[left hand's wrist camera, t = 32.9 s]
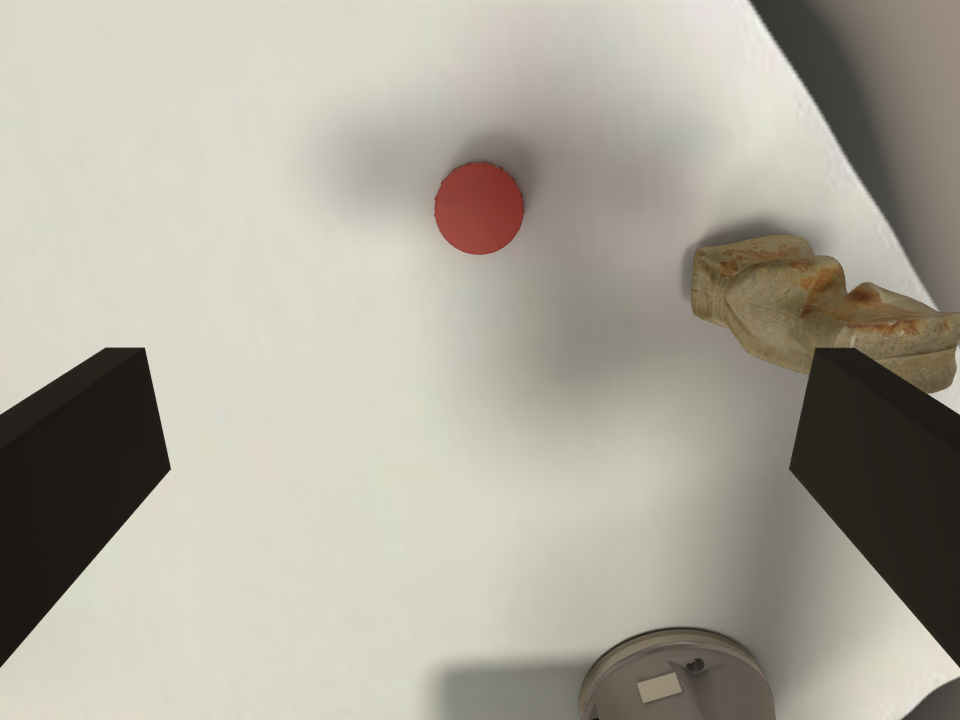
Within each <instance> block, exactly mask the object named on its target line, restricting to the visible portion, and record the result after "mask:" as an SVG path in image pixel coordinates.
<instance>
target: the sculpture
mask: <svg viewBox="0 0 960 720" xmlns="http://www.w3.org/2000/svg"><path fill="white" fill-rule="evenodd" d="M691 298H692V309H693V313H694V314H695V315H696V316H698V317H700V318H701V319H703V320H706V321H709V322H711V323H714V324H717V325H720V326H723V327H727V328H730V330H731V331H732V333H733V334H734V335H735V337H736V338H737V340H738V341H739V343H740V344H741V345H742V347H743V348H744V349H745V350H746V351H747V352H748V353H749V354H751V355H752V356H754V357H757V358H759V359H762V360H765V361H767V362H770V363H772V364H775V365H778V366H781V367H784V368H786V369H789V370H792V371H795V372H799V373H803V374H810V370H811V365H812V360H813V356H814V351H815V348H856V349H857V350H859V351H860V352H862V353H864V354H865V355H867V356H868V357H870V358H871V359H873V360H875V361H876V362H878V363H879V364H881V365H882V366H884V367H886V368H887V369H889V370H890V371H892V372H893V373H895V374H897V375H898V376H900V377H901V378H903V379H904V380H906V381H908V382H909V383H911V384H912V385H914V386H915V387H917V388H918V389H920V390H922V391H923V392H925V393H926V394H931V393H935V392H938V391H941V390H943V389H946V388H948V387H949V386H950V385H951V384H952V382H953V379H954V376H955V373H956V369H957V367H956V361H955V351H956V347H957V345H958V343H959V341H960V312H949V313H944V312H937V311H935V310H934V309H932V308H931V307H929V306H927V305H925V304H923V303H921V302H919V301H917V300H914V299H912V298H910V297H907V296H904V295H901V294H898V293H894V292H891V291H889V290H886V289H884V288H881V287H879V286H877V285H875V284H873V283H870V282H865V283H862V284H860V285H859V286H857V287H856V288H855V289H853V290H852V291H851V292H850V293H848V294H847V292H846V284H845V275H844V271H843V268H842V266H841V265H840V263H839V262H838V261H837V260H836V259H834V258H833V257H829V256H821V255H816V256H814V255H813V250H812V248H811V246H810V244H809V243H808V242H807V241H806V240H805V239H803V238H801V237H798V236H793V235H782V234H780V235H769V236H763V237H758V238H753V239H748V240H744V241H740V242H736V243H732V244H728V245H721V246H714V247H710V246H708V247H703V248H700V249H698V250H697V251H696V252H695V255H694V261H693V279H692V292H691Z"/></svg>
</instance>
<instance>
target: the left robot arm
mask: <svg viewBox="0 0 960 720" xmlns="http://www.w3.org/2000/svg"><path fill="white" fill-rule="evenodd" d="M170 470H171V467H170V462H169V458H168V453H167V448H166V444H165V439H164V435H163V430H162V425H161V421H160V416H159V411H158V407H157V402H156V397H155V393H154V388H153V384H152V379H151V374H150V370H149V365H148V360H147V356H146V351H145V348H104V349H103V350H101V351H100V352H98V353H96V354H95V355H93V356H92V357H90V358H89V359H87V360H85V361H84V362H82V363H81V364H79V365H78V366H76V367H74V368H73V369H71V370H70V371H68V372H67V373H65V374H63V375H62V376H60V377H59V378H57V379H56V380H54V381H52V382H51V383H49V384H48V385H46V386H45V387H43V388H42V389H40V390H38V391H37V392H35V393H34V394H32V395H31V396H29V397H27V398H26V399H24V400H23V401H21V402H20V403H18V404H16V405H15V406H13V407H12V408H10V409H9V410H7V411H5V412H4V413H2V414H1V415H0V667H1V666H2V665H3V664H4V663H5V662H6V660H7V659H8V658H9V657H10V656H11V655H12V654H13V652H14V651H15V650H16V649H17V648H18V647H19V645H20V644H21V643H22V642H23V641H24V640H25V638H26V637H27V636H28V635H29V634H30V633H31V631H32V630H33V629H34V628H35V627H36V626H37V624H38V623H39V622H40V621H41V620H42V619H43V617H44V616H45V615H46V614H47V613H48V612H49V610H50V609H51V608H52V607H53V606H54V605H55V603H56V602H57V601H58V600H59V599H60V598H61V596H62V595H63V594H64V593H65V592H66V591H67V589H68V588H69V587H70V586H71V585H72V584H73V582H74V581H75V580H76V579H77V578H78V577H79V575H80V574H81V573H82V572H83V571H84V570H85V569H86V567H87V566H88V565H89V564H90V563H91V562H92V560H93V559H94V558H95V557H96V556H97V555H98V553H99V552H100V551H101V550H102V549H103V548H104V546H105V545H106V544H107V543H108V542H109V541H110V539H111V538H112V537H113V536H114V535H115V534H116V532H117V531H118V530H119V529H120V528H121V527H122V525H123V524H124V523H125V522H126V521H127V520H128V518H129V517H130V516H131V515H132V514H133V513H134V511H135V510H136V509H137V508H138V507H139V506H140V504H141V503H142V502H143V501H144V500H145V499H146V497H147V496H148V495H149V494H150V493H151V492H152V490H153V489H154V488H155V487H156V486H157V485H158V484H159V482H160V481H161V480H162V479H163V478H164V477H165V475H166V474H167V473H168V472H169V471H170ZM789 470H790V471H791V472H792V473H793V474H794V475H795V477H796V478H797V479H798V480H799V481H800V482H801V484H802V485H803V486H804V487H805V488H806V489H807V490H808V492H809V493H810V494H811V495H812V496H813V497H814V499H815V500H816V501H817V502H818V503H819V504H820V506H821V507H822V508H823V509H824V510H825V511H826V513H827V514H828V515H829V516H830V517H831V518H832V520H833V521H834V522H835V523H836V524H837V525H838V527H839V528H840V529H841V530H842V531H843V532H844V534H845V535H846V536H847V537H848V538H849V539H850V541H851V542H852V543H853V544H854V545H855V546H856V548H857V549H858V550H859V551H860V552H861V553H862V555H863V556H864V557H865V558H866V559H867V560H868V562H869V563H870V564H871V565H872V566H873V567H874V569H875V570H876V571H877V572H878V573H879V574H880V575H881V577H882V578H883V579H884V580H885V581H886V582H887V584H888V585H889V586H890V587H891V588H892V589H893V591H894V592H895V593H896V594H897V595H898V596H899V598H900V599H901V600H902V601H903V602H904V603H905V605H906V606H907V607H908V608H909V609H910V610H911V612H912V613H913V614H914V615H915V616H916V617H917V619H918V620H919V621H920V622H921V623H922V624H923V626H924V627H925V628H926V629H927V630H928V631H929V633H930V634H931V635H932V636H933V637H934V638H935V640H936V641H937V642H938V643H939V644H940V645H941V647H942V648H943V649H944V650H945V651H946V652H947V654H948V655H949V656H950V657H951V658H952V659H953V660H954V662H955V663H956V664H957V665H958V666H959V667H960V415H959V414H958V413H956V412H955V411H953V410H951V409H950V408H948V407H947V406H945V405H944V404H942V403H940V402H939V401H937V400H936V399H934V398H933V397H931V396H929V395H928V394H926V393H925V392H923V391H922V390H920V389H918V388H917V387H915V386H914V385H912V384H911V383H909V382H908V381H906V380H904V379H903V378H901V377H900V376H898V375H897V374H895V373H893V372H892V371H890V370H889V369H887V368H886V367H884V366H882V365H881V364H879V363H878V362H876V361H875V360H873V359H871V358H870V357H868V356H867V355H865V354H864V353H862V352H860V351H859V350H857V349H856V348H815V351H814V356H813V360H812V365H811V370H810V374H809V379H808V384H807V388H806V393H805V397H804V402H803V407H802V411H801V416H800V421H799V425H798V430H797V435H796V439H795V444H794V448H793V453H792V458H791V462H790V467H789ZM579 712H580V718H581V720H776V717H775V709H774V702H773V696H772V692H771V689H770V687H769V685H768V683H767V681H766V679H765V677H764V675H763V673H762V671H761V669H760V667H759V665H758V664H757V662H756V661H755V659H754V658H753V657H752V656H751V654H750V653H748V652H747V651H746V650H745V649H744V648H743V647H741V646H740V645H738V644H737V643H735V642H733V641H732V640H730V639H727V638H725V637H723V636H720V635H717V634H713V633H709V632H705V631H699V630H688V629H677V630H666V631H659V632H654V633H650V634H646V635H643V636H640V637H637V638H635V639H632V640H630V641H628V642H626V643H623V644H622V645H620V646H618V647H616V648H615V649H613V650H612V651H610V652H609V653H608V654H606V655H605V656H604V657H603V658H602V659H601V660H600V661H599V662H598V663H597V664H596V665H595V666H594V667H593V668H592V669H591V671H590V672H589V674H588V675H587V677H586V679H585V681H584V683H583V685H582V688H581V691H580V696H579Z"/></svg>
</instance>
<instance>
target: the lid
mask: <svg viewBox="0 0 960 720" xmlns="http://www.w3.org/2000/svg"><path fill="white" fill-rule="evenodd" d="M514 181H515V179H514V178H512V177H511V176H510V175H509V174H508V173H507V172H505V171H504V170H503V169H502V167H500V168H499V167H497V166H495V165H493V164H489V163H487V161H485V163H483V162H475V163H470V162H468V164H466V165H463V166H461V167H459V168H457V169H456V170H455V168H454V169H453V172H452V173H450V175H449V176H448V177H447V178H446V179H445V180H444V181H442V182H441V184H442V185H441V187H440V189H439V191H438V194H437V195H436V197H435V200H436V201H435V214H434V216H435V218H436V222H437V225H438V228H439V230H440V232H441V233H442V235H443V236H444V238H445V239H446V240H447V241H448V242H449V243H450V244H451V245H452V246H454V247H455V248H457V249H459V250H461V251H463V252H465V253H469V254H475V255H483V254H489V253H493V252H495V251H498V250H500V249H501V248H503V247H504V246H506V245H507V244H508V243H509V242H511V240H512V239H513V238H514V237H515V235H516V234H517V232H518V230H519V229H520V226H521V223H522V219H523V213H524V209H523V201H522V196H523V195H522V193H521V192H520V191H519V189H518V187H517V185H516V183H515V182H514Z"/></svg>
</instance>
